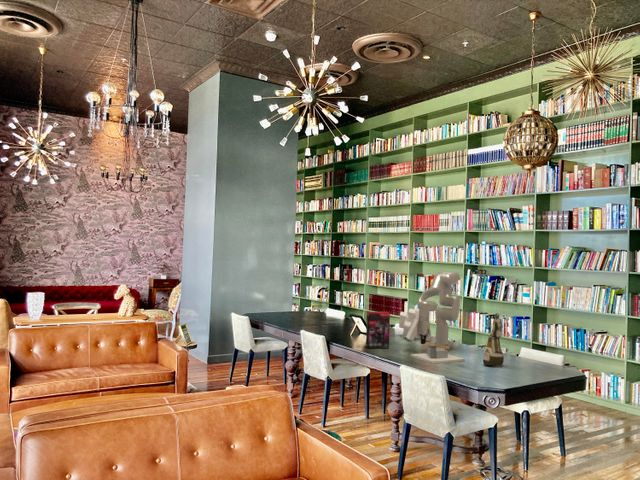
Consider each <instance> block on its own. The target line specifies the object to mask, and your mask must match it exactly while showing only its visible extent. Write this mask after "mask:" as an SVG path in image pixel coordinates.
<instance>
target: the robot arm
mask: <svg viewBox="0 0 640 480" xmlns="http://www.w3.org/2000/svg"><path fill="white" fill-rule="evenodd" d="M459 280H460V274H459V272H457V271H447V270H446V271H444V270H440V271H438V272H437V273H436V274H434V277H433V278H432V281H431V284H430V286H429V288H428V289H427V290H425V291H423V292H422V294H421V295H420V297H419V299H418V302H417V309H419V320H418V323H417V333H418V335H420V337H419V339H420V345H423V344H424V343H426V342H427V340H426V338H427V337H429V334H430V331H431V323H430V322H431V321H430V316H431V313H430V312H434V313H435V314H434V315H435V342H434V344H436V345H445V344H448V346H449V348H448V351H449V350H450V349H451V347H452V346H453V344H454V343H452V342H450V343H449V327H450V326H449V324H448V323H449V322H456V321H457V320H458V318H459V313H460V305H461V298H460V296H459V295H457V294H452V291H453V287H452V285H455V284H457V283H458V282H459ZM437 295H439V300H438V303H439V305H440V306H442V307H438V304H437V302H436V301H434V300H433V301H432V300H428V299H429V298H432V297H436V296H437ZM448 307H450V308H448ZM447 321H448V322H447ZM436 348H438V347H436ZM441 349H445V348H441Z"/></svg>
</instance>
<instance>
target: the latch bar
mask: <svg viewBox="0 0 640 480" xmlns="http://www.w3.org/2000/svg"><path fill="white" fill-rule="evenodd" d="M422 345H423V347H428V345H434V346H436V347H438V348H446V349H448V348H449V347H450V346H448V344H445V345H436V344H435V343H424V344H422Z"/></svg>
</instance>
